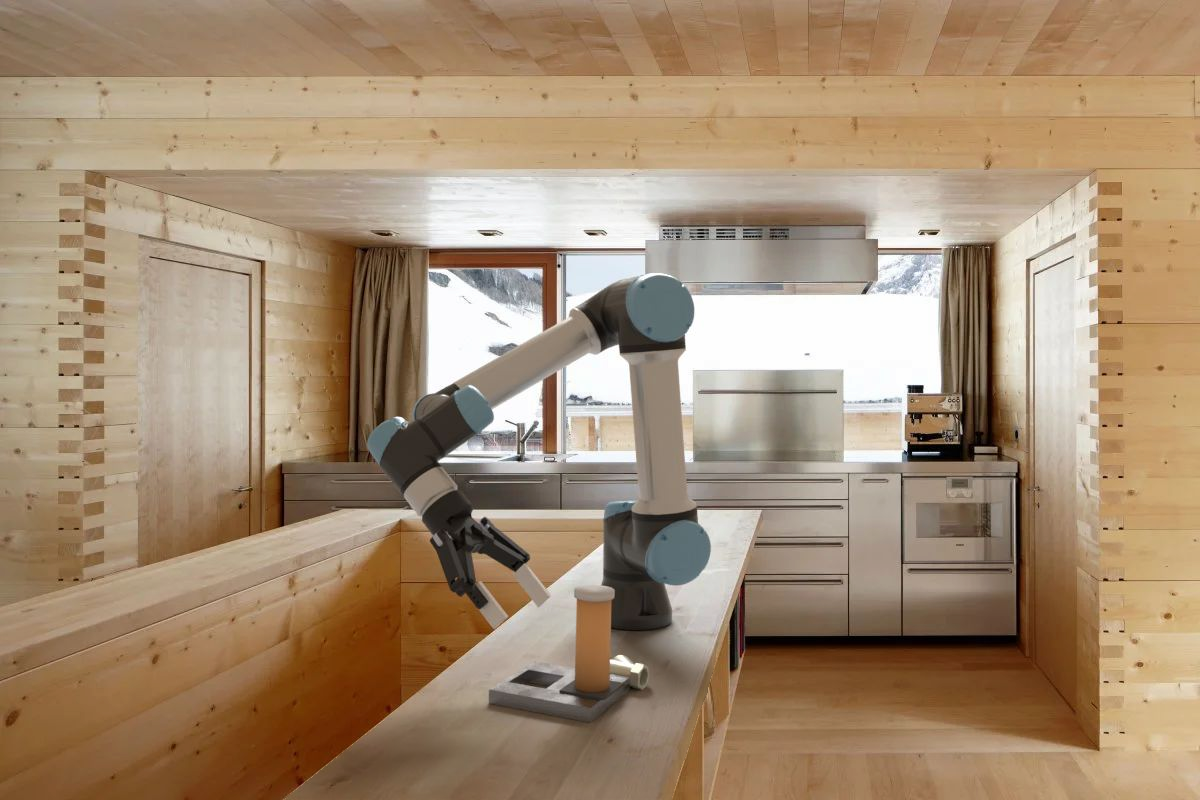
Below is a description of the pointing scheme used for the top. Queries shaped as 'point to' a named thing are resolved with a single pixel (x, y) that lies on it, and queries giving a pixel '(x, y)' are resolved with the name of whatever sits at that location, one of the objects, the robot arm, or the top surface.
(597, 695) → the pad
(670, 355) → the robot arm
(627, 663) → the pipe fitting
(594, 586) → the orange pill bottle
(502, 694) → the plate
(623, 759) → the top surface
